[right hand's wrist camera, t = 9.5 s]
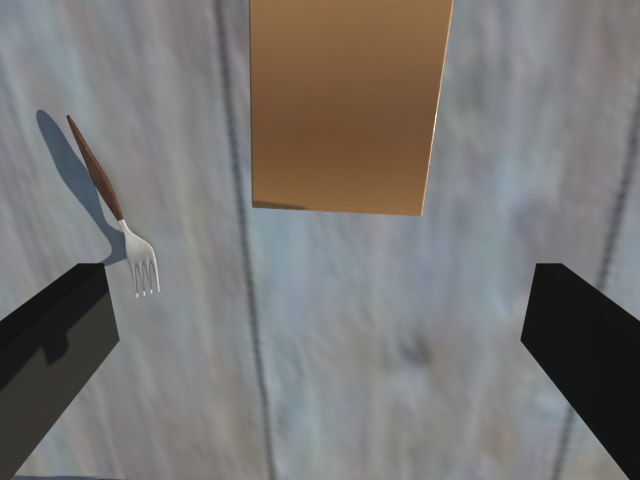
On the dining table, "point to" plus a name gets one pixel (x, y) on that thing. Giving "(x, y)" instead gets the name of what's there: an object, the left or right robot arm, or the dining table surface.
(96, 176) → the fork
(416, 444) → the dining table surface
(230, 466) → the dining table surface
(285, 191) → the bar
